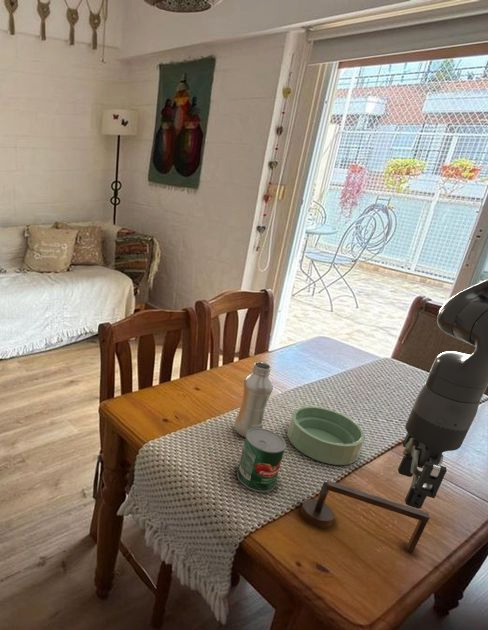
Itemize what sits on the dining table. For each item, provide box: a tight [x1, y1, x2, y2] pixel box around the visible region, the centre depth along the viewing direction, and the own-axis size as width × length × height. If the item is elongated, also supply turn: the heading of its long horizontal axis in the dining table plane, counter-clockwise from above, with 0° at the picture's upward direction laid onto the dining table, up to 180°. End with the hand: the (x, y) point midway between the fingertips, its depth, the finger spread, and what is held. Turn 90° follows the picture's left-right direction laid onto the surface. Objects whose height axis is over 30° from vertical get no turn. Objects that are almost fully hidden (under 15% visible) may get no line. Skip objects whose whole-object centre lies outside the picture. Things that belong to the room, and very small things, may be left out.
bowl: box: [286, 405, 366, 466], centre depth 108 cm, size 16×16×6 cm
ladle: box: [300, 479, 430, 554], centre depth 84 cm, size 19×6×9 cm, turn 62°
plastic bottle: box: [234, 361, 274, 438], centre depth 108 cm, size 6×7×20 cm
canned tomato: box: [236, 428, 287, 493], centre depth 95 cm, size 8×8×11 cm
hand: (408, 489), depth 78 cm, fingers open, 8 cm apart
